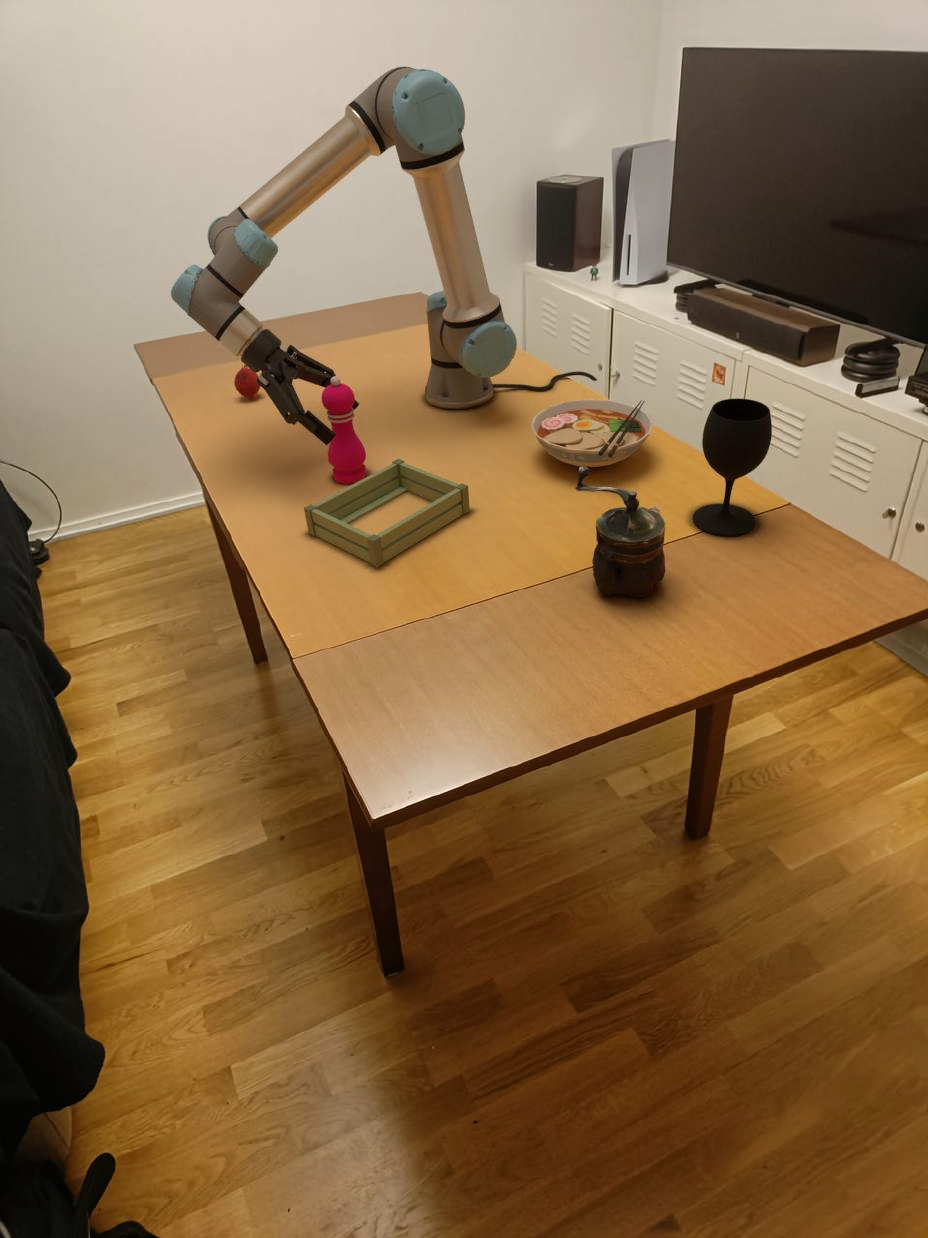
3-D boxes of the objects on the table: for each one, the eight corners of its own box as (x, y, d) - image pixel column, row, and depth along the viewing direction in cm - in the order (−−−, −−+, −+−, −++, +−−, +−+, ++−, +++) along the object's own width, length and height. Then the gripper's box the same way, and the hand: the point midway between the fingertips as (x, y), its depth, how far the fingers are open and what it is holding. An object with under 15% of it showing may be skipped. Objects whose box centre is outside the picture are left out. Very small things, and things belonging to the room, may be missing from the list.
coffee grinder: (587, 553, 138) (591, 452, 127) (675, 575, 131) (687, 471, 120) (553, 594, 129) (554, 489, 118) (645, 620, 123) (655, 512, 112)
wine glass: (757, 509, 145) (777, 398, 133) (753, 540, 138) (774, 426, 126) (696, 502, 148) (710, 393, 136) (688, 532, 141) (702, 420, 129)
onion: (257, 403, 195) (250, 370, 190) (234, 402, 196) (226, 369, 191) (267, 393, 199) (260, 360, 194) (244, 392, 200) (236, 359, 195)
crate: (401, 483, 160) (398, 458, 157) (469, 511, 150) (468, 485, 147) (308, 533, 147) (303, 507, 144) (377, 568, 138) (373, 541, 134)
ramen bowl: (557, 424, 177) (558, 386, 172) (665, 440, 168) (669, 401, 163) (510, 477, 159) (509, 438, 154) (627, 498, 151) (630, 457, 146)
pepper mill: (332, 469, 166) (315, 370, 154) (368, 466, 167) (355, 367, 154) (330, 486, 161) (313, 385, 148) (368, 483, 161) (354, 382, 149)
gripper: (268, 333, 163) (352, 409, 169) (211, 383, 143) (309, 467, 149) (288, 305, 158) (375, 384, 164) (233, 353, 139) (333, 441, 145)
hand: (343, 424), depth 157 cm, fingers open, 13 cm apart
